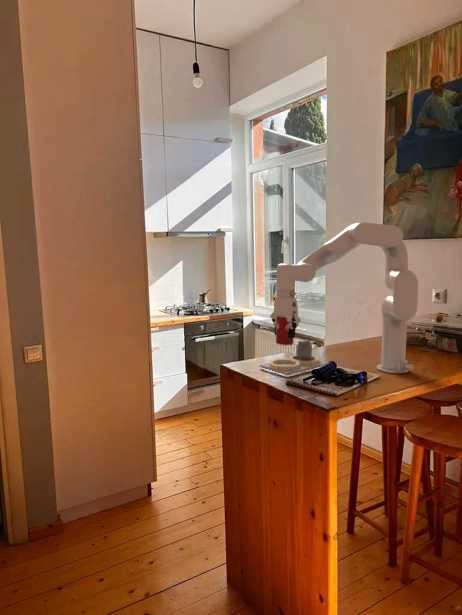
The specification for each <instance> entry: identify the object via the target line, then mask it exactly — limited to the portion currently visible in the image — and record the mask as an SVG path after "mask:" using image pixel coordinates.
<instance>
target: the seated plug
mask: <svg viewBox="0 0 462 615" xmlns="http://www.w3.org/2000/svg"><path fill="white" fill-rule="evenodd" d="M295 350H296V351H295V353H296V354H295V355H296V360H299V361H311V360H312V355H313V352H312V351H313V345H312V344H311V340H308V339H303V340H298V341H297V344H296V349H295Z"/></svg>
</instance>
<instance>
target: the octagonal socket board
mask: <svg viewBox="0 0 462 615" xmlns="http://www.w3.org/2000/svg"><path fill="white" fill-rule="evenodd" d="M327 363H328V364H329V361H328V362H327V361H324V360H320V358H319V357H318V356H316V355H313V354H312V360H311V361H299V360H296V354H294V355H290V356H288V358H274V359H271V360H269V362H266V363H262V364H259V368H260V367H262V368H265V369H269V370H272V371H275V372H278V373H282V374H285V375H291V374H294V373H298V372H303V371H306V370H310V369H314V368H317V367H320V366H322V365H324V364H327Z"/></svg>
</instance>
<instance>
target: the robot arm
mask: <svg viewBox="0 0 462 615" xmlns="http://www.w3.org/2000/svg"><path fill="white" fill-rule="evenodd" d="M403 238H404V233H403V230H402V229H401V228H400V227H399V226H397V225H394V224H393V225H392V224H383V223H382V224H381V223H376V222H375V223H374V222H373V223H372V222H368V221H367V222H366V221H365V222H364V221H361V222H355V223H352V224H351V225H348V227H346V228H345V229H344V230H343V231H341V232H339V233H338V234H337V235H336V236H334V237H333V238H331V239H330V240H329V241H327V242H326V243H324V244H323V245H321V246H320V247H319V248H316V249H315V250H314V251H312V252H311V253H310V254H309V255H307V256H306V257H304V258H303V259H302V260H300V261H299V262H298V263H296V264H294V263H278V264H277V266H276V288H275V289H276V290H275V291H276V293H275V294H276V295H275V298H274V305H273V312H272V313H271V314H270V315H269V316H270V318H271V320H272V323H273V326H274V336H276V317H277V316H281V317H286V318H287V322H289V326H290V329H289V338H290V339H291V338H294V339H295V338H296V329H297V328H298V326H299V325H300V323H301V322H302V319H301V318H300V317H299V308H298V307H299V306H298V301H297V300H298V299H297V297H296V295H297V292H296V282H302V283H309V282H312V281H313V280H314V279H315V277H316V274H317V273H316V272H317V271H318V270H321V269H322V268H323V267H325V266H328V265H330V264H332V263H335V262H338V261H339V260H341V259H343V258H344V257H345V256H346V255H348V254H349V253H350V252H351V251H353V250H354V249H356V248H357V247H359V246H360V245H366V246H373V247H375V246H376V247H380V248H381V249H382V251H383V253H384V255H385V274H384V276H385V278H384V279H385V280H384V283H385V287H387V289H388V290H390V291H392V292H393V294H390V295H387V296H386V297H385V298H384V299H383V301H382V304H381V318H382V330H381V331H382V332H381V350H380V351H381V354H380V355H381V356H380V357H381V358H380V363H378V364H377V365H376V369H377V370H378V371H380V372H383V373H389V374H404V373H408V372H409V371H413V370H414V364H410V363H408V360H407V359H406V349H407V347H406V346H407V333H408V330H407V329H408V328H407V327H408V325H407V324H408V323H407V322H409V321H411V320H412V319H413V318H414V317H415V316H416V314H417V311H418V302H419V297H418V296H419V280H418V277H417V275H416V274H415V273H414V272H413V271H411V270H410V269H409V256H408V254H409V253H408V249H407V246H406V244H405V242H404V241H403ZM293 317H294V318H293ZM292 318H293V321H292ZM292 323H293V325H292Z"/></svg>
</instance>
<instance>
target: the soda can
mask: <svg viewBox="0 0 462 615" xmlns="http://www.w3.org/2000/svg"><path fill="white" fill-rule="evenodd" d="M293 318H294V317H293ZM293 318H292V321H293ZM292 325H293V323H292ZM289 329H290V326H289V322H287V318H286V317H281V316H277V317H276V335H275V344H276V345H277V346H282V347H289V346H293V344H294V339H295V338H291V339H290V338H289Z"/></svg>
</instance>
